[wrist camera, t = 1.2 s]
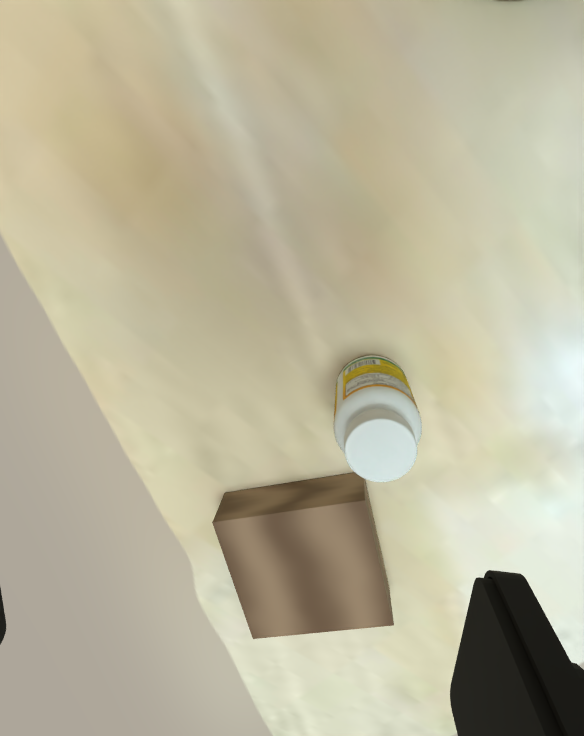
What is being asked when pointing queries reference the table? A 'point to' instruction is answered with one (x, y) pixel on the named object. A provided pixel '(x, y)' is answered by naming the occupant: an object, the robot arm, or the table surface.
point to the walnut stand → (305, 556)
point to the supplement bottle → (376, 419)
